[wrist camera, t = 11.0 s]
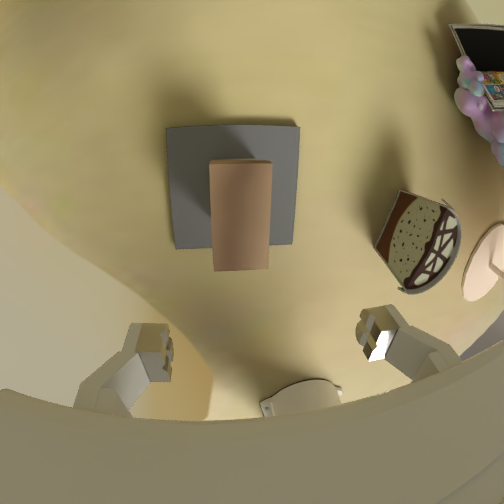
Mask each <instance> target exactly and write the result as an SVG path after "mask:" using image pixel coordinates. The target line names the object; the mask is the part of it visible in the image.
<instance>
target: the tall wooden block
mask: <svg viewBox="0 0 504 504" xmlns="http://www.w3.org/2000/svg"><path fill="white" fill-rule="evenodd" d="M272 165H273V164H272V163H271V162H270V161H269V160H256V159H212V161H210V163H209V172H210V204H211V227H212V247H213V264H214V272H215V271H237V270H256V269H268V254H269V234H270V213H271V190H272Z"/></svg>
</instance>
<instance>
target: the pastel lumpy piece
mask: <svg viewBox="0 0 504 504" xmlns="http://www.w3.org/2000/svg"><path fill="white" fill-rule="evenodd" d="M448 25H449V28H450V30H451V32H452V34H453V36H454V38H455V40H456V43H457V45H458V47H459V50H460V52H461V54H462V56H461V57H460V58H458V59H457V60H456V64H457V67H458V69H459V71H460V74H459V77H458V79H457V83H458V84H459V86H460V87H459V88H458V89H456V91H455V94H454V99H455V103H456V105H457V107H458V109H459V110H460V111H461V112H462V113H463V114H464V115H466V116H468V117H471V119H472V121H473V124H474V127H475V130H476V131H477V133H478V134H479V135H480V136H482V137H483V138H485V139H486V140H487V141H489V142H491V152H492V154H493V155H494V156H495V158H496V160H497V161H498V163H499V164H500V165H501V166H502V167H504V25H494V24H448Z"/></svg>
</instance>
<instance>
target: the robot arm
mask: <svg viewBox="0 0 504 504" xmlns="http://www.w3.org/2000/svg"><path fill="white" fill-rule="evenodd" d="M360 318H361V320H360V321H359V322H358V323H357V326H356V338H357V341H358V343H359V344H360V345H362V346H364V348H363V352H364V354H365V356H366V357H367V359H368V361H373V360H377V359H382V358H384V359H385V360H386V361H388V362H389V363H390V364H392V365H393V366H394V367H396V368H397V369H398V370H400V371H401V372H402V373H404V374H405V375H406V376H408V377H409V378H410V379H412V381H411V383H410V384H408V385H405V386H402V387H399V388H396V389H393V390H390V391H387V392H384V393H380V394H377V395H374V396H370V397H367V398H363V399H359V400H356V401H352V402H348V403H344V404H341V401H340V396H341V395H342V393H343V391H342V388H340V387H335V386H334V385H333V384H332V383H331V382H329V381H326V380H309V381H304V382H300V383H297V384H294V385H291V386H289V387H287V388H285V389H283V390H281V391H279V392H278V393H277V394H275V395H274V396H273V397H271V398H268V399H266V400H264V401H262V402H261V403H260V405H261V408H262V411H263V414H264V417H261V418H250V419H236V420H214V421H178V420H156V419H144V418H133V416H132V415H131V413H130V412H129V409H130V408H131V406H132V405H133V404H134V403H135V402H136V400H137V399H138V398H139V397H140V395H141V394H142V393H143V392H144V391H145V389H146V388H147V387H148V385H149V384H150V382H170V381H171V374H172V367H171V364H170V363H171V362H172V361H173V355H174V353H173V342H172V339H171V338H170V337H169V332H170V330H169V326H168V324H155V323H132V324H131V325H130V327H129V330H128V333H127V336H126V339H125V343H124V346H123V349H122V352H117V353H116V354H115V355H114V356H113V357H111V358H110V359H109V360H108V361H107V362H105V363H104V364H103V365H102V366H101V367H100V368H98V369H97V370H96V371H95V372H94V373H92V374H91V375H90V376H89V377H88V378H86V379H85V380H84V381H83V382H82V383H81V384H80V387H79V390H78V393H77V396H76V399H75V402H74V406H73V408H72V407H67V406H63V405H58V404H55V403H51V402H47V401H44V400H40V399H37V398H33V397H30V396H27V395H24V394H21V393H18V392H15V391H13V390H9V389H2V390H0V504H504V340H502V341H500V342H498V343H496V344H495V345H493V346H491V347H489V348H488V349H486V350H484V351H482V352H480V353H479V354H476V355H475V356H473V357H471V358H469V359H467V360H465V361H463V362H462V360H461V359H460V358H459V356H458V355H457V354H456V352H455V351H454V350H453V348H452V347H451V346H450V345H449V344H447V343H445V342H443V341H441V340H439V339H437V338H435V337H433V336H431V335H430V334H428V333H426V332H424V331H422V330H420V329H418V328H416V327H414V326H409V325H408V323H407V322H406V321H405V319H404V318H403V317H402V315H401V314H400V313H399V312H398V310H397V309H396V308H395V306H394V305H392V304H390V305H384V306H379V307H373V308H367V309H363V310H362V311H361V314H360Z"/></svg>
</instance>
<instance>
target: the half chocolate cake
mask: <svg viewBox="0 0 504 504" xmlns="http://www.w3.org/2000/svg"><path fill="white" fill-rule="evenodd" d="M441 200H442V201H443V202H444V203H445V204H446V205H447V206H445V205H443V204H440V203H437V202H435V201H432V200H429V199H427V198H424V197H421V196H418V195H416V194H413V193H410V192H407V191H404V190H401V189H400V190H399V192H398V195H397V197H396V200H395V202H394V204H393V207H392V209H391V211H390V214H389V216H388V218H387V221H386V223H385V225H384V227H383V229H382V232H381V234H380V236H379V238H378V240H377V242H376V244H375V247H374V249H375V251H376V252H377V253H378V255H379V256H380V257H381V259H382V260H383V261H384V263H385V264H386V265H387V267H388V268H389V269H390V271H391V272H392V273H393V275H394V276H395V278H396V279H397V280H398V282H399V283H400V285H401V286H402V287H403V288H401V287H398V289H399V290H400V291H402V292H403V293H407V294H409V295H414V294H419V293H422V292H425V291H427V290H429V289H430V288H432V287H433V286H434V285H436V284H437V283H438V282H439V281H440V280H441V279H442V278H443V277H444V276H445V275H446V274H447V272H448V271H449V269H450V268H451V266H452V265H453V263H454V261H455V259H456V257H457V254H458V251H459V248H460V244H461V237H462V229H461V223H460V220H459V217H458V215H457V214H456V212H455V211H454V209H453V208H452V207H451V206H450V205H449V204H448V203H447V202H446V201H445V200H443V199H441Z"/></svg>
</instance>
